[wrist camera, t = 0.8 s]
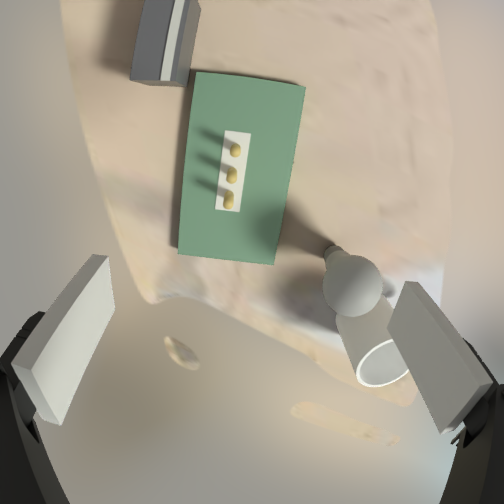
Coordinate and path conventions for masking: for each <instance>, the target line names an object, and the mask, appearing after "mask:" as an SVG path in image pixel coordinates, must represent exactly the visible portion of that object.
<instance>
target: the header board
mask: <svg viewBox="0 0 504 504" xmlns="http://www.w3.org/2000/svg"><path fill="white" fill-rule="evenodd" d="M305 90H306V87H303V86H298V85H293V84H287V83H282V82H276V81H270V80H264V79H257V78H250V77H243V76H235V75H226V74H216V73H205V72H196V78H195V84H194V91H193V98H192V105H191V113H190V120H189V128H188V137H187V146H186V155H185V164H184V175H183V186H182V197H181V210H180V224H179V240H178V254H182V255H190V256H198V257H207V258H215V259H224V260H232V261H241V262H250V263H258V264H267V265H274V260H275V255H276V250H277V245H278V240H279V235H280V229H281V224H282V219H283V214H284V208H285V203H286V198H287V192H288V187H289V182H290V176H291V171H292V165H293V160H294V154H295V148H296V143H297V137H298V131H299V125H300V120H301V114H302V108H303V102H304V96H305Z"/></svg>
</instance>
